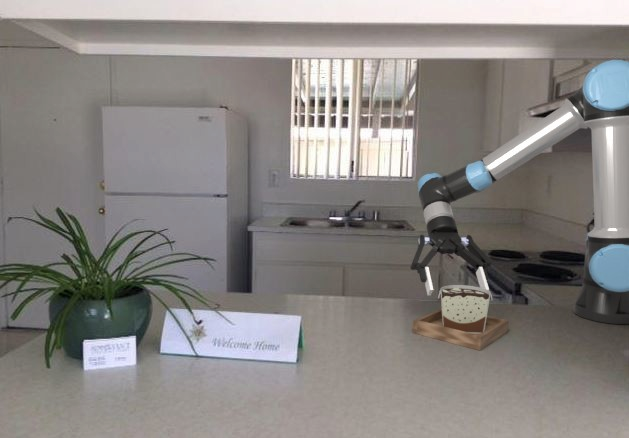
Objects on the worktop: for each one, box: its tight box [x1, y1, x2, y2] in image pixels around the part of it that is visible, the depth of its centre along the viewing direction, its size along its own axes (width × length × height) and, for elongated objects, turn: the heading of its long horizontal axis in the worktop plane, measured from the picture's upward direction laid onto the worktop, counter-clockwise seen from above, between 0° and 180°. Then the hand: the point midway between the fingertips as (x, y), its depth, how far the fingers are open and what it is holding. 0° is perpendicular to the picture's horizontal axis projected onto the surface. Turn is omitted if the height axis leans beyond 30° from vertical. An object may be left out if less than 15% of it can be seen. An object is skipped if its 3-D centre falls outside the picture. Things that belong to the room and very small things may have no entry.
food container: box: [437, 284, 493, 334], centre depth 118 cm, size 12×6×10 cm, turn 88°
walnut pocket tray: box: [412, 308, 509, 351], centre depth 119 cm, size 16×16×3 cm
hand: (458, 292), depth 120 cm, fingers open, 13 cm apart
